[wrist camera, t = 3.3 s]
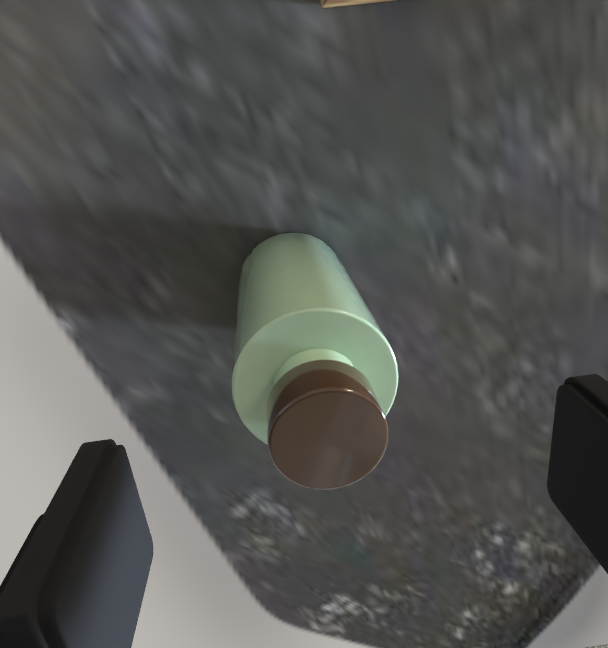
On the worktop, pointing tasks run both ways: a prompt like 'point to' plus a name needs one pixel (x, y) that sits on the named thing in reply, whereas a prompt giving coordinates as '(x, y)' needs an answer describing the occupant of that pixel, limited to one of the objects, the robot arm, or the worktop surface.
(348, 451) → the bottle
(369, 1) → the box
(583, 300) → the worktop surface
